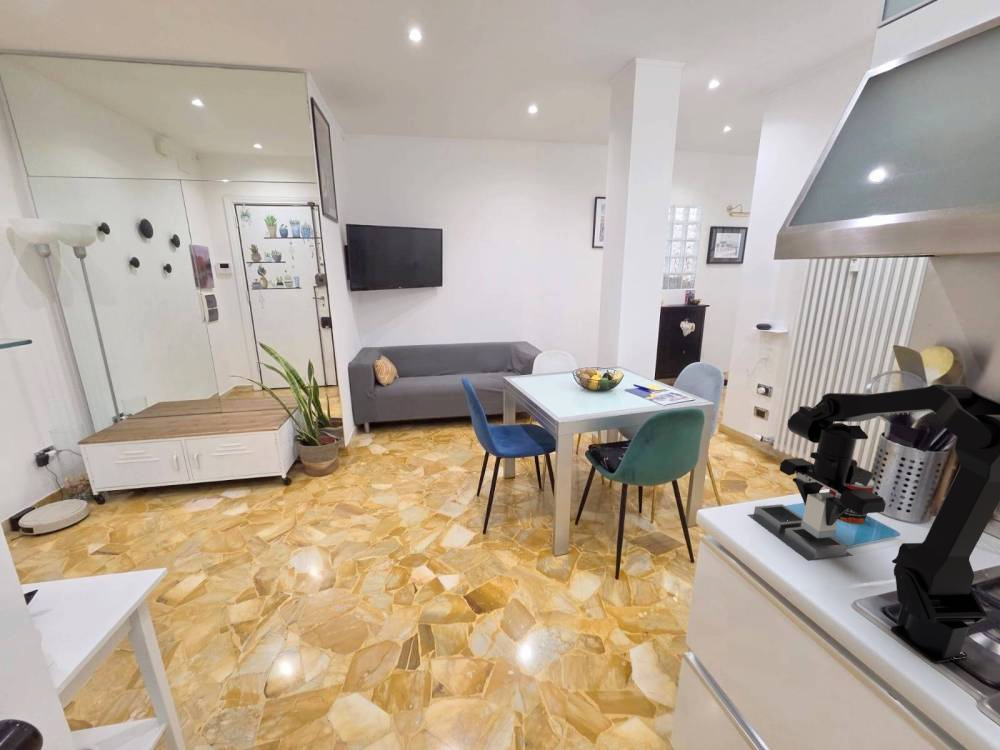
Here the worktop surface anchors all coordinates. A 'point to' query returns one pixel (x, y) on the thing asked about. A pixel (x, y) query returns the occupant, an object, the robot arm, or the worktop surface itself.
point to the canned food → (849, 514)
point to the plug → (817, 516)
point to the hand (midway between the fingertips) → (819, 519)
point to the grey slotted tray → (797, 533)
